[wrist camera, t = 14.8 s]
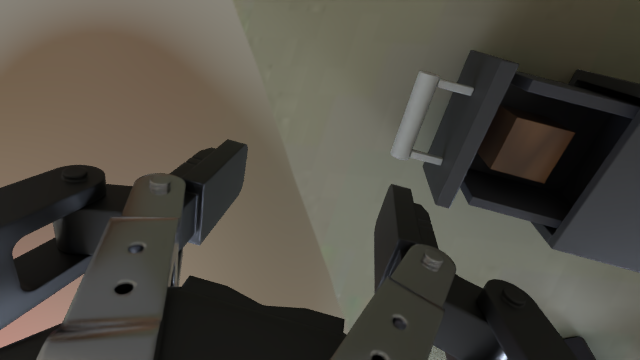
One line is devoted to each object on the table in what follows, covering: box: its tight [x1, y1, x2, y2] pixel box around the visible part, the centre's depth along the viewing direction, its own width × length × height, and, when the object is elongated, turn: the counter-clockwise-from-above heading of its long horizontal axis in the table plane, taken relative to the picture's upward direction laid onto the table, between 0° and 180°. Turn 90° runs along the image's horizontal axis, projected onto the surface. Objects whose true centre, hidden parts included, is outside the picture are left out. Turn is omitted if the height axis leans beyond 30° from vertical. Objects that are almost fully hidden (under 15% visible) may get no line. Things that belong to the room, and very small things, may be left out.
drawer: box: [391, 50, 640, 228], centre depth 27 cm, size 18×11×8 cm, turn 77°
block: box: [477, 104, 575, 183], centre depth 28 cm, size 4×4×4 cm
